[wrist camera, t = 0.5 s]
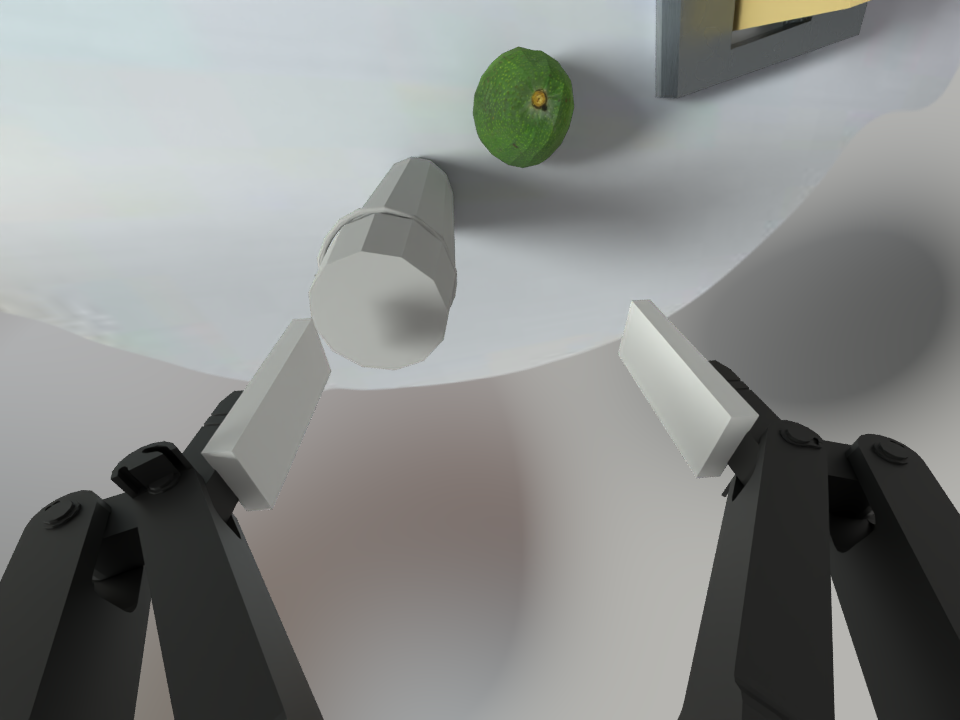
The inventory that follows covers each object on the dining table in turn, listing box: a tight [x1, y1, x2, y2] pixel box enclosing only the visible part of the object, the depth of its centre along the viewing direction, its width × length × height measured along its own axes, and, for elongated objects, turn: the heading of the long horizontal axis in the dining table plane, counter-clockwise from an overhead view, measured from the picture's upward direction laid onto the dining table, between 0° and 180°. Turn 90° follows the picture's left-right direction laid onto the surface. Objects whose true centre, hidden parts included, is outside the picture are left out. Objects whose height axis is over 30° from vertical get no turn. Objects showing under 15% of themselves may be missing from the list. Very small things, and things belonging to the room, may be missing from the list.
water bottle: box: [309, 157, 457, 370], centre depth 27 cm, size 9×8×25 cm
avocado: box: [473, 47, 574, 168], centre depth 28 cm, size 8×8×12 cm
